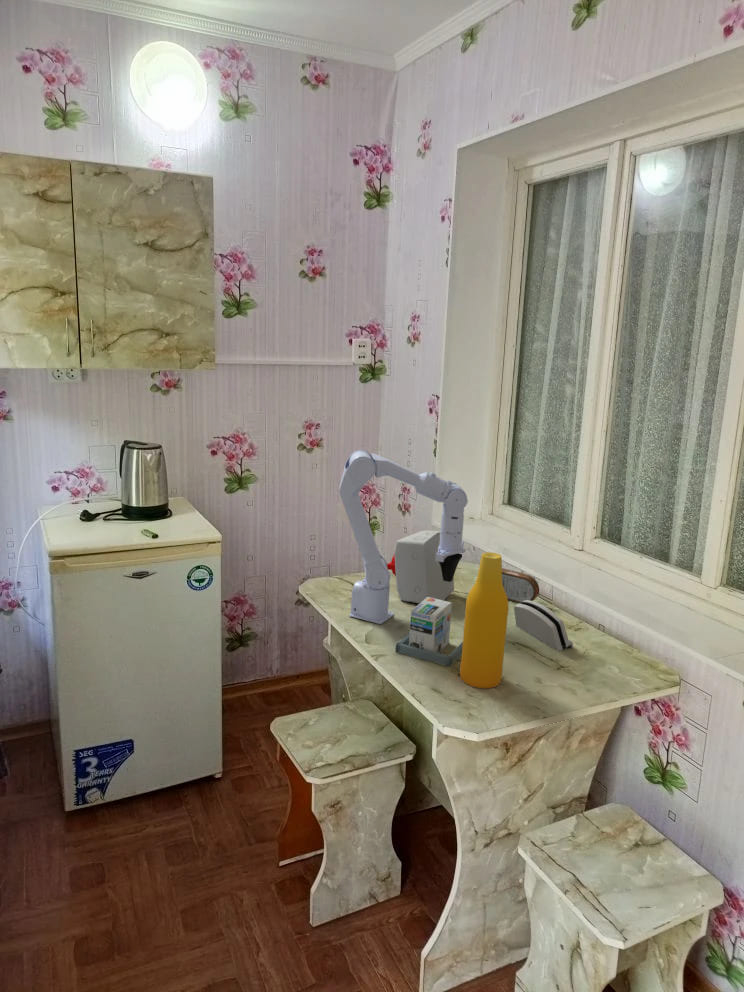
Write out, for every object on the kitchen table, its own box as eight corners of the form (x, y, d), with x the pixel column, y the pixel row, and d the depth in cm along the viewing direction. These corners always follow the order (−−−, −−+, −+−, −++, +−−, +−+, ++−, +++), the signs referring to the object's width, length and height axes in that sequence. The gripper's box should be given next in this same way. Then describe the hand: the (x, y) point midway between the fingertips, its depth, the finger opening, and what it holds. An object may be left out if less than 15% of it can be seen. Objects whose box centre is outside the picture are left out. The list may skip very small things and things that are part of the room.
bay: (395, 651, 180) (395, 644, 180) (421, 629, 193) (421, 622, 193) (450, 666, 174) (450, 658, 174) (473, 643, 187) (473, 635, 187)
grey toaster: (574, 648, 187) (568, 614, 183) (560, 657, 185) (553, 623, 182) (530, 622, 201) (523, 590, 197) (516, 630, 200) (509, 599, 196)
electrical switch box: (411, 589, 227) (407, 524, 224) (454, 594, 218) (450, 527, 215) (383, 602, 215) (378, 534, 212) (428, 609, 207) (423, 538, 204)
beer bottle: (473, 692, 163) (484, 564, 156) (452, 672, 171) (461, 550, 164) (509, 685, 167) (522, 560, 160) (487, 667, 175) (498, 547, 168)
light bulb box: (433, 659, 177) (436, 616, 175) (407, 652, 180) (409, 610, 178) (449, 642, 187) (453, 601, 184) (424, 636, 190) (427, 595, 187)
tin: (538, 604, 214) (541, 576, 212) (534, 607, 212) (537, 579, 210) (489, 592, 222) (491, 564, 220) (484, 595, 219) (487, 567, 217)
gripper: (455, 540, 188) (451, 592, 191) (475, 527, 201) (471, 575, 204) (429, 535, 191) (425, 586, 194) (450, 522, 204) (447, 570, 207)
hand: (447, 580), depth 199 cm, fingers closed
